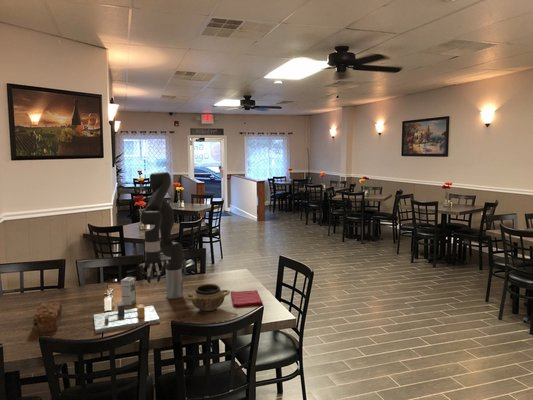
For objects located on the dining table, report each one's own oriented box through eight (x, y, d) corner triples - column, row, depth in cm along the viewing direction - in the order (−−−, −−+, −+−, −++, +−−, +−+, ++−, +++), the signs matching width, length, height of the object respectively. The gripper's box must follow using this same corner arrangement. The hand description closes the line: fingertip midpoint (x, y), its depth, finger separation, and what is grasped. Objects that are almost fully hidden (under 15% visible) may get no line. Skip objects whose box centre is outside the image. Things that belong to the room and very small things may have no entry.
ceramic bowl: (186, 322, 213) (186, 298, 208) (183, 302, 229) (183, 279, 224) (232, 317, 220) (233, 293, 214) (226, 298, 235) (227, 276, 230)
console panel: (152, 309, 225) (152, 296, 224) (159, 322, 206) (158, 308, 206) (94, 318, 212) (93, 304, 211) (95, 333, 194) (94, 318, 193)
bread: (41, 319, 211) (39, 300, 210) (63, 316, 215) (62, 298, 214) (33, 334, 194) (31, 314, 193) (57, 331, 197) (56, 311, 196)
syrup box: (131, 305, 230) (130, 280, 229) (121, 304, 231) (120, 279, 230) (136, 301, 236) (135, 277, 234) (127, 301, 237) (125, 276, 235)
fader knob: (143, 313, 212) (142, 303, 212) (144, 316, 208) (144, 307, 207) (137, 314, 211) (136, 304, 210) (138, 317, 206) (138, 308, 206)
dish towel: (233, 308, 226) (232, 304, 226) (229, 294, 249) (229, 290, 249) (263, 306, 229) (263, 302, 228) (257, 292, 252) (257, 288, 252)
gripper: (165, 246, 215) (166, 278, 217) (137, 249, 209) (138, 282, 211) (168, 249, 208) (169, 282, 210) (139, 252, 202) (140, 286, 204)
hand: (153, 282), depth 210 cm, fingers open, 3 cm apart
